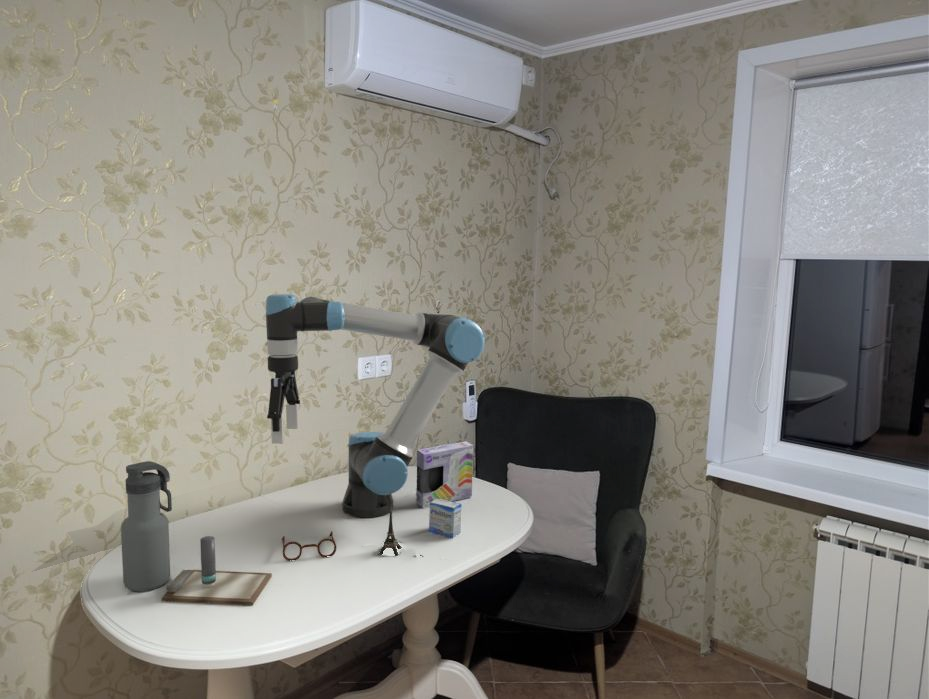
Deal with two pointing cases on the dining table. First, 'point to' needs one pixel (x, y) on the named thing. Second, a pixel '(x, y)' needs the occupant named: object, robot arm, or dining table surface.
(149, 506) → the water bottle
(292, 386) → the robot arm
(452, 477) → the cake pan box
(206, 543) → the marker
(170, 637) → the dining table surface
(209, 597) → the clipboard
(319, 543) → the glasses
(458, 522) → the medicine box
